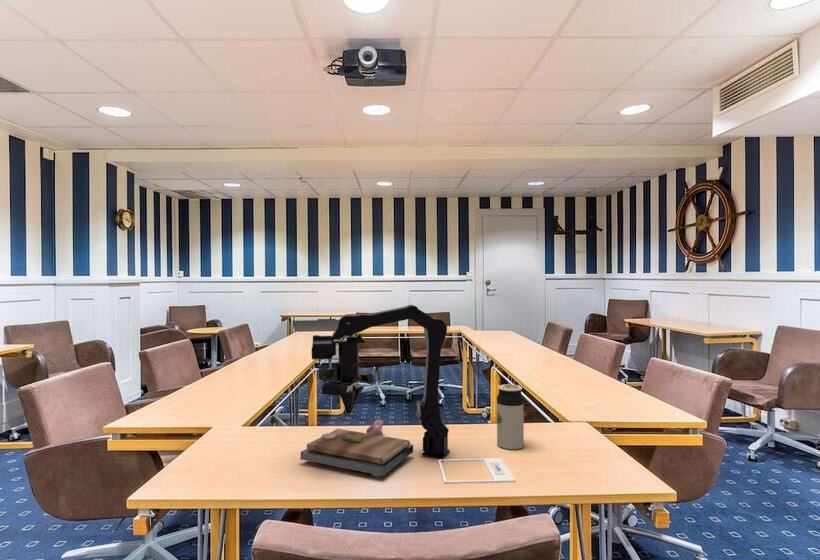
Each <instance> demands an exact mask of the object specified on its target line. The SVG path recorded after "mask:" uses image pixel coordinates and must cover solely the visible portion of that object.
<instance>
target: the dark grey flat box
mask: <svg viewBox="0 0 820 560" xmlns="http://www.w3.org/2000/svg"><path fill="white" fill-rule="evenodd" d="M413 453H414V445H413V444H410V445H409V446H407V447H406V448H405V449H403V450H402V451H401V452H399V453H398V454H397V455H395V456H394V457H392V458H391V459H390V460H388V461H387V462H386V463H384V464H378V463H373V462H368V461H363V460H358V459H353V458H348V457H343V456H337V455H332V454H327V453H322V452H317V451H312V450H307V448H305V449H303V450H302V451H301V450H300V460H303V461H309V462H312V463H316V464H317V463H318V464H323V465H328V466H333V467H337V468H343V469H347V470H352V471H359V472H361V473H367V474H370V475H371V477H372V478H375V479H380V478H381V479H382V478H384V477H385V476H386V474H387V473H388V472H389V471H391V470H392V469H394V468H395V467H396V466H397V465H398V464H400V463H402V462H404V461H406V460H405V459H406V458H408V457H409V456H410V455H411V454H413Z"/></svg>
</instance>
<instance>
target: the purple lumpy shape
mask: <svg viewBox="0 0 820 560" xmlns="http://www.w3.org/2000/svg"><path fill="white" fill-rule="evenodd" d="M383 425H384V421H383V420H382V419H376V420H375V421H374V422H373V423H372V424H371V425H370V426H368V427H367V429H366V432H365V433H367V434H373V435H379V436H383V434H384V433H383V432H384V431H382V430H383Z"/></svg>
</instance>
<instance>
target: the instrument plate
mask: <svg viewBox="0 0 820 560" xmlns="http://www.w3.org/2000/svg"><path fill="white" fill-rule="evenodd" d="M409 445H411V441H410V440H409V439H403V438H398V437H397V438H396V437H390V436H385V435H373V434H367V433H366V432H361V431H360V432H359V431H354V430H349V429H344V428H342V429H341V428H337V429H334V430H333V431H330V432H326V433H323V434H322V435H321V436H320V437H319V438H317V439H314V440H313V441H310V442H309V443H307V444H306V449H307V450H312V451H317V452H322V453H327V454H332V455H337V456H343V457H348V458H353V459H358V460H363V461H368V462H373V463H378V464H384V463H386V462H387V461H388V460H390V459H391V458H392V457H394V456H395V455H397V454H398V453H399V452H401V451H402V450H403V449H405V448H406V447H407V446H409Z"/></svg>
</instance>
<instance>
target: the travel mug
mask: <svg viewBox="0 0 820 560" xmlns="http://www.w3.org/2000/svg"><path fill="white" fill-rule="evenodd" d="M497 389H498V394H497V396H496V444H497V446H498V447H500V448H502V449H505V450H519V449H521V448H523V447H524V445H525V444H524V443H525V440H524V439H525V437H524V434H525V433H524V429H525V428H524V423H525V422H524V416H525V415H524V397H523V395H522V390H523V386H521V385H518V384H511V383H510V384H509V383H508V384H504V383H503V384H500V385H497Z"/></svg>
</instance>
